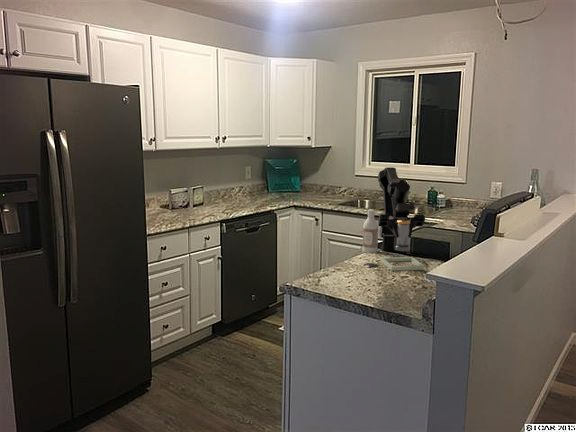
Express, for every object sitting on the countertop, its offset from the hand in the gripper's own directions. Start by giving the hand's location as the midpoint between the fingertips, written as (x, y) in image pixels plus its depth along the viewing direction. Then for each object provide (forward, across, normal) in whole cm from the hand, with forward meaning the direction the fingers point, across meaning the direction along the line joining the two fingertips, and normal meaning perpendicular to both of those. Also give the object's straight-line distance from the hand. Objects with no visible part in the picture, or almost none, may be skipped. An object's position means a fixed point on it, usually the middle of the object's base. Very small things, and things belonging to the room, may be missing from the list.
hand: (403, 237), depth 190 cm
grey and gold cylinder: (+3, 0, +5) cm, 6 cm away
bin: (+8, 0, +10) cm, 13 cm away
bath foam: (-10, -10, +29) cm, 32 cm away
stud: (+9, -13, +10) cm, 18 cm away
